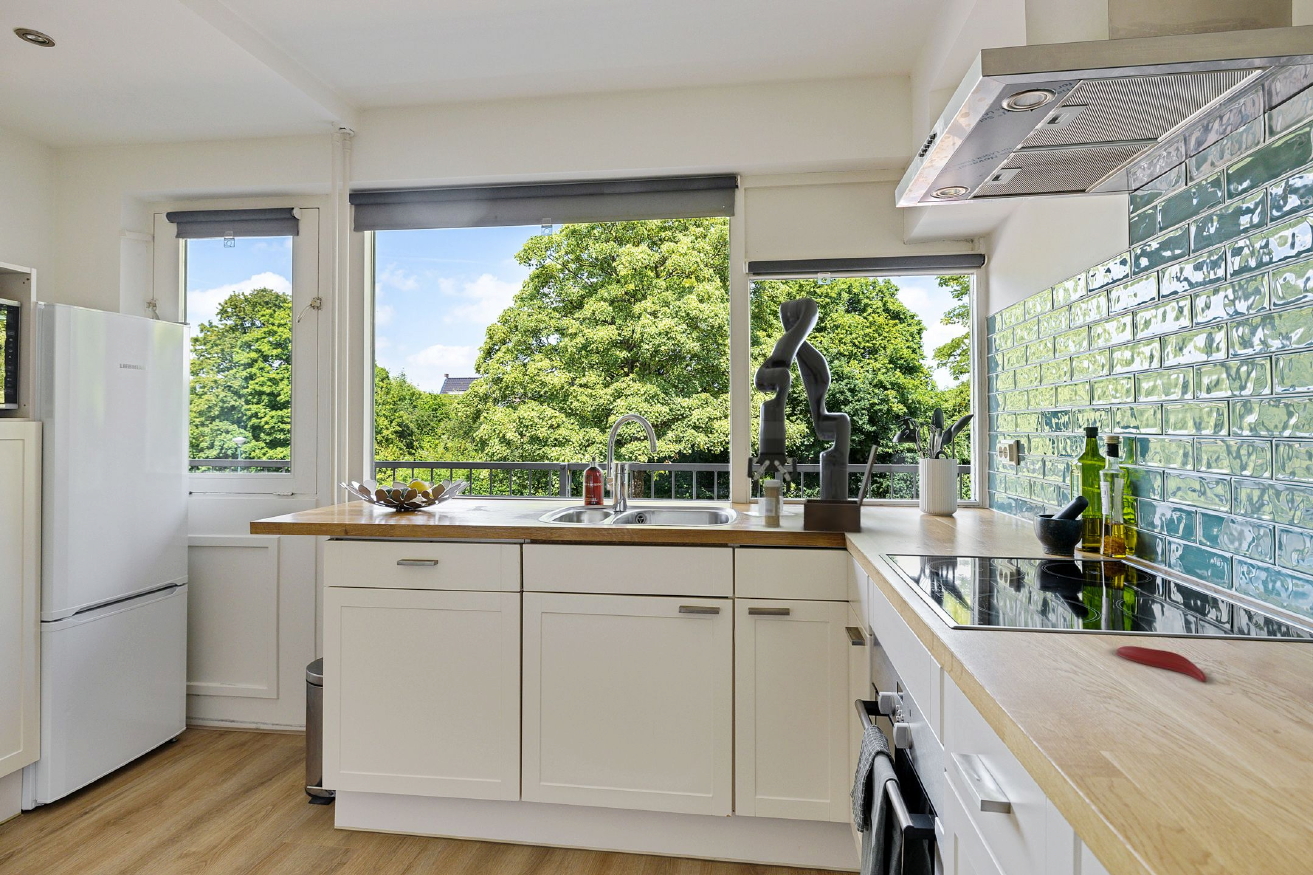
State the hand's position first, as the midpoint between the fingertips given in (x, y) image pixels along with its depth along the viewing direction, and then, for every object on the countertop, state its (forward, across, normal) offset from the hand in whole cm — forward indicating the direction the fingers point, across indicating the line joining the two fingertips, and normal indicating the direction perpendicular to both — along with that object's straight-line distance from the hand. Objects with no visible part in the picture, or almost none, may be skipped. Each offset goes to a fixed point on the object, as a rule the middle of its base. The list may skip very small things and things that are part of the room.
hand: (772, 493), depth 213 cm
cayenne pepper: (+10, -56, +112) cm, 126 cm away
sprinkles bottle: (+10, 0, 0) cm, 10 cm away
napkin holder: (+10, +3, -30) cm, 32 cm away
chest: (+10, -17, 0) cm, 19 cm away
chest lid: (-6, -26, 0) cm, 27 cm away
